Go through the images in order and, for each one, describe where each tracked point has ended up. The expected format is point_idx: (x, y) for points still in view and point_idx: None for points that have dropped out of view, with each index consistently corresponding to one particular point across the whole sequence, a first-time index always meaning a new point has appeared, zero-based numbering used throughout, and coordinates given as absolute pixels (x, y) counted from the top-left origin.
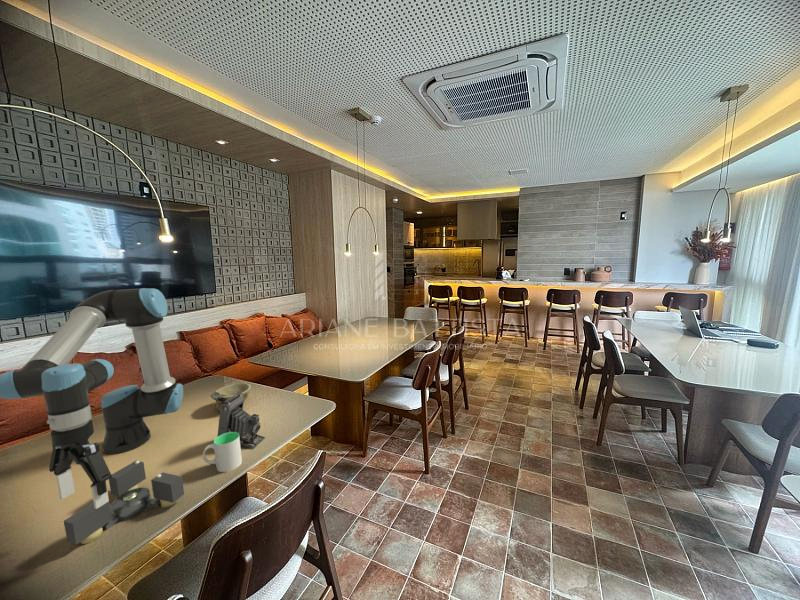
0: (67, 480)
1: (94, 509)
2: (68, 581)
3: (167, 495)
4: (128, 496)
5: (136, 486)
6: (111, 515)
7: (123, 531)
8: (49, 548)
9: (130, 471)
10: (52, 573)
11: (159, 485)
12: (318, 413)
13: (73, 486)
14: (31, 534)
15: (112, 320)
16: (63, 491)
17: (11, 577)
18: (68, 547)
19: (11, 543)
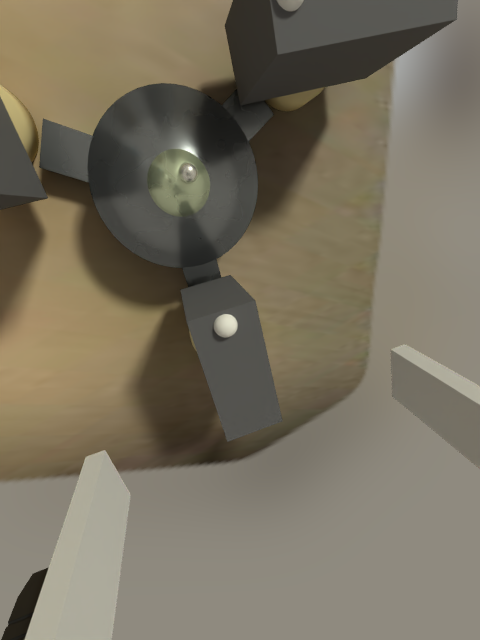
0: (88, 593)
1: (265, 356)
2: (334, 382)
3: (356, 70)
4: (178, 191)
5: (9, 93)
6: (234, 279)
7: (285, 257)
8: (154, 404)
9: None
10: None
11: (335, 54)
12: None
13: (95, 491)
14: (7, 438)
15: None
16: (118, 531)
17: (196, 459)
18: (202, 371)
19: (11, 473)
